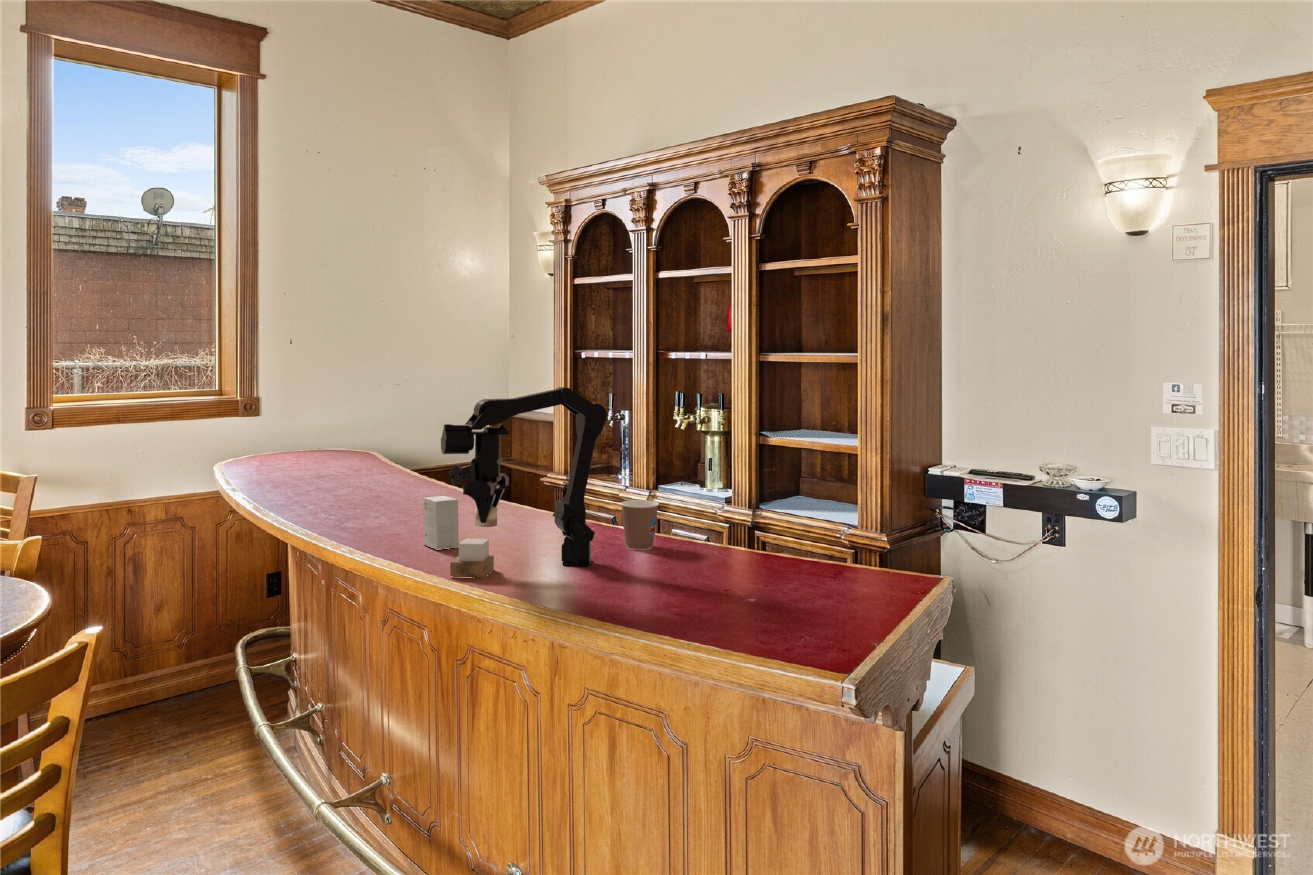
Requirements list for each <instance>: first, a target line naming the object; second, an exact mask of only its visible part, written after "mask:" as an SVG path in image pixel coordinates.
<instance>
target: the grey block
mask: <svg viewBox="0 0 1313 875" xmlns="http://www.w3.org/2000/svg"><path fill="white" fill-rule="evenodd" d="M489 542H490V539H488V538H464V539H463V540H462V541H460V542H459V547H458V556H459V561H481V562H483V561H484V560H485V559H486V558H487V557H488V556H489V555H490V547H489V546H490V545H489V544H490V543H489Z"/></svg>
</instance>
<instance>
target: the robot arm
mask: <svg viewBox="0 0 1313 875" xmlns="http://www.w3.org/2000/svg"><path fill="white" fill-rule="evenodd" d="M560 405H561V406H563V407H564V408H565V409H566V410H568V411H569V412H570V413H572V414H573V415H574V416H575V430H576V443H575V449H574V452H573V459H572V462H571V467H570V472H569V478H568V482H567V486H566V493H565V495H564V497H563V498H562V500H558V499H556V501H555V507H554V511H553V513H552V517H554V524H555V525H556V528H558V529H559V530H561V533H562V535H563V536H564V538H563V543H562V544H561V562H562V566H571V567H572V566H574V567H575V566H576V567H577V566H578V567H579V566H580V567H588V566H590V565H591V564H592V561H593V558H592V541H593V539H594V536H595V533H596V532H595V531H594V530H593V529H592V528H591V527H590V526H589V525H588V524H587V523H586V519H587V517H586V516H587V511H586V510H587V509H586V502H585V495H586V491H587V485H588V482H589V481H588V480H589V476H590V471H591V467H592V466H591V465H592V460H593V456H594V451H595V446H596V442H597V440H598V438H599V437H600V435H601V434H602V433H603V429H604V427H605V425H606V422H607V420H608V412H607V409H606V408H605V407H604V405H602V404H600V403H597V402H596V403H595V402H591V401H590V400H588V399H587V398H585V397H583V396H581V395H580V394H578V393H576V392H575V391H573V390H572V388H570V387H565V386H559V387H557V388H554V389H550V390H546V391H541V392H540V391H539V392H536V393H531V394H525V395H522V396H517V397H514V398H484V399H481V400H478V401H477V402H476V403H475V405H474V407H473V413H472V415H471V416H470V417H469V418H468V419H467V421H466V422H465V423H464V424H450V423H444V424H443V429H442V433H441V437H440V449H441V450H440V451H441V454H442V455H468V454H469V453H470V451H472V450H474V458H472V459H471V461H470V464H469V465H465V466H461V465H460V464H458V465H454V466H450V470H449V472H448V480H451V483H452V485H453V486H454V485H457V484H459V483H461V482H464V481H467V482H465V484H464V485H463V487H462V490H463V491H462V495H463V496H468V497H470V498H471V499H472V500H473V501H474V502H475V505H476V507H477V510H478V514H479V517H480V521H481V523H486V521H487V518H488V515H489V513H490V510H491V507H497V508H498V505H499V502H500V500H501V498H502V496H503V495H504V492H505V490H506V488H505V487H508V486H509V483H510V477H509V476H508V474H506V473H502V472H500V470H501V463H503V457H501V436H502V435H504V436H505V435H506V436H507V435H510V433H511V432H510V431H509V430H508V429H507V428H506V427H505V425H504V424H503V423H504V422H506V421H507V420H509V419H511V418H513V417H514V416H517V415H521V414H524V413H525V414H526V413H529V412H533V411H538V410H543V409H547V408H552V407H556V406H560ZM496 425H497V426H496ZM500 485H502V486H503V487H500Z"/></svg>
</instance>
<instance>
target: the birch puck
mask: <svg viewBox="0 0 1313 875" xmlns="http://www.w3.org/2000/svg"><path fill="white" fill-rule="evenodd" d="M474 516H475V518H474V525H475V527H479V528H492V527H494V528H495V527H496V526H498V506H497V507H491V510H490V513H489V515H488V518H487V521H486V523H481V521H480V517H479V514H478V510H477V506H476V507H475V510H474Z"/></svg>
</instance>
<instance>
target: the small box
mask: <svg viewBox="0 0 1313 875" xmlns="http://www.w3.org/2000/svg"><path fill="white" fill-rule="evenodd" d="M459 543H460V542H459V499H457V498H454V497H451V496H446V495H440V496H439V495H437V496H428V497H427V496H425V497H423V545H424V544H426V545H427V546H429V547H431V548H434V549H445V548H455V549H458V548H459ZM457 547H458V548H457ZM431 548H430V549H431Z"/></svg>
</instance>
